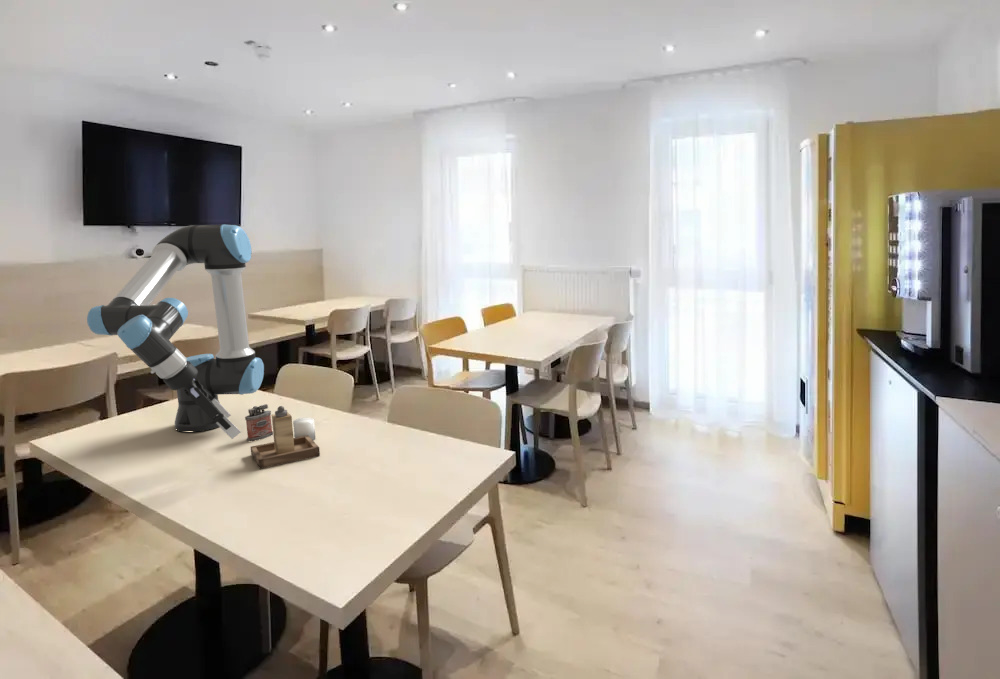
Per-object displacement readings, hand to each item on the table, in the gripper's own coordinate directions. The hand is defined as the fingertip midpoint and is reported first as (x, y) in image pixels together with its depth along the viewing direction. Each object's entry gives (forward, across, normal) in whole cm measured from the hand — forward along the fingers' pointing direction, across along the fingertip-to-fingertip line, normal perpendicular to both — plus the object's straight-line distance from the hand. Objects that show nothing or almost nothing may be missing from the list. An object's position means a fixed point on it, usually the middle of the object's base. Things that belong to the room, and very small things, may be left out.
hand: (231, 426), depth 155 cm
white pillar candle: (+21, -7, +12) cm, 25 cm away
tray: (+16, +3, +5) cm, 17 cm away
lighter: (+16, -17, +2) cm, 23 cm away
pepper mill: (+15, +3, +5) cm, 16 cm away
